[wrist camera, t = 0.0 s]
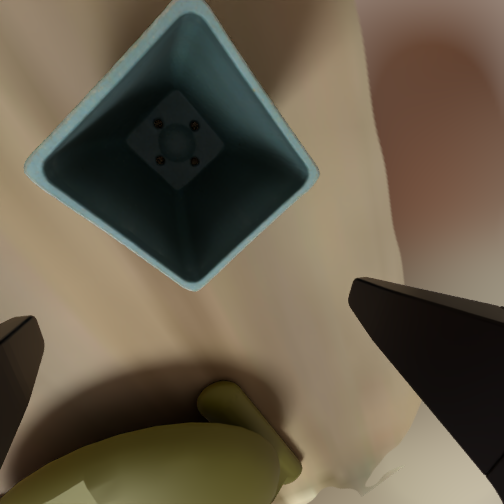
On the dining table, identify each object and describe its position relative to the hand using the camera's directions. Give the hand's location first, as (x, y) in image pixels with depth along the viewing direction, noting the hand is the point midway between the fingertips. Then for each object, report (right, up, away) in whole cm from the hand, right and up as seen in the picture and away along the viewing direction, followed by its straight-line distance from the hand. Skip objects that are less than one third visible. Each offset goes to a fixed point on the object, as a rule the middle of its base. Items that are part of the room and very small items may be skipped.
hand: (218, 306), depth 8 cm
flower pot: (-4, +9, +11) cm, 15 cm away
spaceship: (-11, -27, +30) cm, 42 cm away
